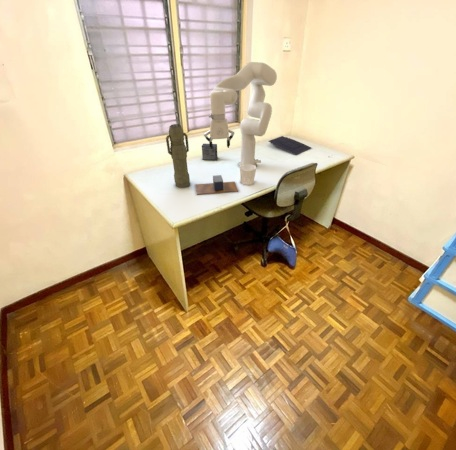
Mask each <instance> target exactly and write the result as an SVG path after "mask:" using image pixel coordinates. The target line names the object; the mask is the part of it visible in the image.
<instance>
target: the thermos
mask: <svg viewBox="0 0 456 450" xmlns="http://www.w3.org/2000/svg"><path fill="white" fill-rule="evenodd" d="M165 141H166V148H167V153H168V155H170V157H171V160H172V165H173V171H174V172H173V178H174V179H173V180H174V183H175V187H176V188H178V189H186V188H188V187H189V186H191V180H190V179H191V178H190V173H189V169H188V161H187V158H188V152H190V147H189V137H188V135H187V133H185V132H184V130H183V127H182V125H181V124H178V123H173V124H171V125H169V127H168V134H167V135H166V137H165Z"/></svg>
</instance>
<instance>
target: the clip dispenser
mask: <svg viewBox="0 0 456 450" xmlns="http://www.w3.org/2000/svg"><path fill="white" fill-rule="evenodd" d="M223 182H224V180H223V176H222V174H219V175H212V183H213V185H214V189H215V191H220V190H223Z"/></svg>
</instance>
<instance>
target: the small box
mask: <svg viewBox="0 0 456 450" xmlns="http://www.w3.org/2000/svg"><path fill="white" fill-rule="evenodd" d="M212 147H213V149H211V147H210V145H209V143H202V145H201V155H202V156H201V157H202V160H203V161H217V160H218V143H212Z"/></svg>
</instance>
